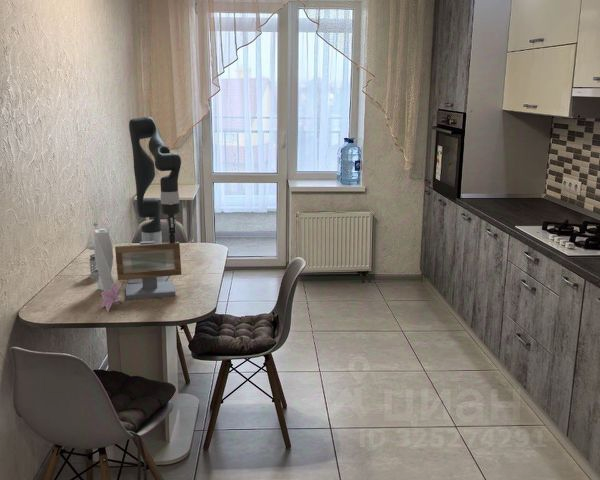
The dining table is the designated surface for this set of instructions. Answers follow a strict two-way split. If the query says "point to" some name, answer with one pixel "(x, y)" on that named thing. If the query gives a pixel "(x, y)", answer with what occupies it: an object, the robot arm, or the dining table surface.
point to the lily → (110, 296)
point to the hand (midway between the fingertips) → (172, 242)
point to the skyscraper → (104, 258)
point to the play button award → (137, 281)
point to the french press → (93, 262)
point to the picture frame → (148, 260)
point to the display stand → (149, 286)
